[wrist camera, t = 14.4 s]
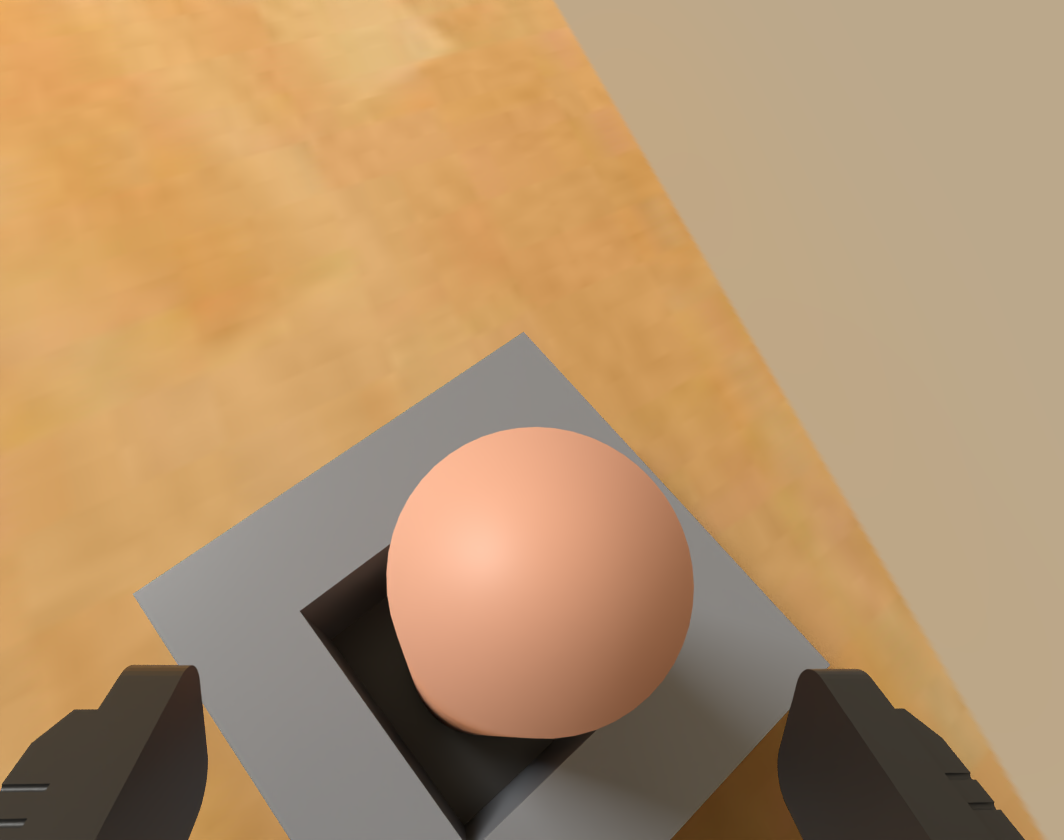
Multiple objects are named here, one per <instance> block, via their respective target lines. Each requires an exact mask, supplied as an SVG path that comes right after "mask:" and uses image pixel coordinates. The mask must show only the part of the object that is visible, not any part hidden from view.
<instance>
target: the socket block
mask: <svg viewBox="0 0 1064 840" xmlns="http://www.w3.org/2000/svg"><path fill="white" fill-rule="evenodd" d="M526 427H544V428H556V429H562V430H567V431H572V432H576V433H579V434H582V435H585V436H588V437H591V438H593V439H596V440H598V441H600V442H602V443H604V444H607V445H608V446H610V447H612V448H613V449H615V450H617V451H618V452H620V453H622V454H623V455H625V456H626V457H627V458H629V459H630V460H631V461H632V462H634V463H635V464H636V465H638V466H639V467H640V468H641V469H642V470H643V471H644V472H645V473H646V474H647V475H648V476H649V477H650V478H651V479H652V480H653V481H654V483H655V484H656V485H657V486H658V488H659V489H660V490H661V491H662V493H663V494H664V495H665V497H666V498H667V500H668V502H669V503H670V505H671V506H672V508H673V510H674V511H675V514H676V516H677V518H678V520H679V522H680V524H681V526H682V528H683V531H684V534H685V538H686V541H687V544H688V547H689V551H690V556H691V561H692V567H693V580H694V594H693V608H692V614H691V619H690V625H689V628H688V631H687V634H686V637H685V641H684V644H683V646H682V648H681V650H680V653H679V655H678V657H677V659H676V661H675V663H674V665H673V666H672V668H671V669H670V671H669V672H668V674H667V675H666V677H665V678H664V680H663V681H662V682H661V683H660V685H659V686H658V687H657V688H656V689H655V690H654V691H653V693H652V694H651V695H650V696H649V697H648V698H647V699H645V700H644V701H643V702H642V703H641V704H640V705H638V706H637V707H636V708H635V709H634V710H632V711H631V712H629V713H628V714H626V715H625V716H623V717H621V718H620V719H618V720H617V721H615V722H613V723H610V724H608V725H606V726H604V727H601V728H599V729H597V730H594V731H591V732H587V733H583V734H580V735H576V736H570V737H562V738H555V739H544V738H518V737H501V736H484V735H472V734H466V733H462V732H459V731H456V730H454V729H452V728H450V727H448V726H446V725H445V724H443V723H442V722H440V721H439V720H438V719H437V718H436V717H434V716H433V715H432V714H431V713H430V711H429V710H428V709H427V708H426V707H425V705H424V703H423V702H422V700H421V699H420V697H419V695H418V692H417V690H416V688H415V685H414V682H413V679H412V676H411V673H410V671H409V668H408V665H407V662H406V659H405V657H404V654H403V651H402V648H401V645H400V642H399V640H398V637H397V634H396V630H395V627H394V624H393V621H392V618H391V614H390V608H389V602H388V596H387V575H386V572H387V562H388V552H389V548H390V544H391V539H392V535H393V532H394V529H395V526H396V524H397V521H398V518H399V516H400V513H401V511H402V510H403V508H404V506H405V504H406V502H407V500H408V498H409V497H410V495H411V494H412V492H413V491H414V490H415V488H416V487H417V485H418V484H419V483H420V481H421V480H422V479H423V478H424V477H425V476H426V475H427V474H428V473H429V472H430V471H431V469H432V468H433V467H434V466H436V465H437V464H438V463H439V462H440V461H442V460H443V459H444V458H445V457H447V456H448V455H449V454H451V453H452V452H454V451H455V450H457V449H459V448H460V447H462V446H463V445H465V444H467V443H469V442H472V441H474V440H476V439H478V438H480V437H483V436H486V435H489V434H492V433H496V432H499V431H504V430H509V429H515V428H526ZM133 595H134V597H135V598H136V600H137V602H138V603H139V605H140V606H141V608H142V609H143V611H144V612H145V614H146V616H147V617H148V619H149V620H150V622H151V623H152V625H153V626H154V628H155V630H156V631H157V633H158V634H159V636H160V637H161V639H162V640H163V642H164V644H165V645H166V647H167V648H168V650H169V651H170V653H171V655H172V656H173V658H174V659H175V661H176V662H177V664H178V665H193V666H195V667H196V668H197V670H198V673H199V677H200V686H201V696H202V703H203V704H204V706H205V707H206V709H207V711H208V712H209V714H210V715H211V717H212V718H213V720H214V722H215V723H216V725H217V726H218V728H219V729H220V731H221V732H222V734H223V736H224V737H225V739H226V740H227V742H228V743H229V745H230V746H231V748H232V750H233V751H234V753H235V754H236V756H237V757H238V759H239V760H240V762H241V764H242V765H243V767H244V768H245V770H246V771H247V773H248V774H249V776H250V778H251V779H252V781H253V782H254V784H255V785H256V787H257V788H258V790H259V792H260V793H261V795H262V796H263V798H264V799H265V801H266V803H267V804H268V806H269V807H270V809H271V810H272V812H273V813H274V815H275V817H276V818H277V820H278V821H279V823H280V824H281V826H282V827H283V829H284V831H285V832H286V834H287V835H288V837H289V838H290V840H671V838H672V837H673V836H674V835H675V834H676V833H677V832H678V831H679V830H680V829H681V827H682V826H683V825H684V824H685V823H686V822H687V821H688V820H689V819H690V818H691V817H692V815H693V814H694V813H695V812H696V811H697V810H698V809H699V808H700V807H701V806H702V804H703V803H704V802H705V801H706V800H707V799H708V798H709V797H710V796H711V795H712V794H713V792H714V791H715V790H716V789H717V788H718V787H719V786H720V785H721V784H722V783H723V781H724V780H725V779H726V778H727V777H728V776H729V775H730V774H731V773H732V772H733V771H734V769H735V768H736V767H737V766H738V765H739V764H740V763H741V762H742V761H743V760H744V759H745V757H746V756H747V755H748V754H749V753H750V752H751V751H752V750H753V749H754V748H755V746H756V745H757V744H758V743H759V742H760V741H761V740H762V739H763V738H764V737H765V736H766V734H767V733H768V732H769V731H770V730H771V729H772V728H773V727H774V726H775V725H776V723H777V722H778V721H779V720H780V719H781V718H782V717H783V716H784V715H785V714H786V713H787V711H788V710H789V709H790V707H791V703H792V699H793V695H794V691H795V687H796V684H797V680H798V678H799V676H800V674H801V673H802V672H803V671H804V670H806V669H827V668H828V667H829V665H830V664H829V663H828V662H827V661H826V660H825V659H824V658H823V657H822V656H821V655H820V653H819V652H818V651H817V650H816V649H815V648H814V647H813V646H812V645H811V644H810V643H809V641H808V640H807V639H806V638H805V637H804V636H803V635H802V634H801V633H800V632H799V631H798V630H797V628H796V627H795V626H794V625H793V624H792V623H791V622H790V621H789V620H788V619H787V618H786V617H785V615H784V614H783V613H782V612H781V611H780V610H779V609H778V608H777V607H776V606H775V605H774V603H773V602H772V601H771V600H770V599H769V598H768V597H767V596H766V595H765V594H764V593H763V592H762V590H761V589H760V588H759V587H758V586H757V585H756V584H755V583H754V582H753V581H752V580H751V579H750V577H749V576H748V575H747V574H746V573H745V572H744V571H743V570H742V569H741V568H740V567H739V565H738V564H737V563H736V562H735V561H734V560H733V559H732V558H731V557H730V556H729V555H728V554H727V552H726V551H725V550H724V549H723V548H722V547H721V546H720V545H719V544H718V543H717V542H716V541H715V539H714V538H713V537H712V536H711V535H710V534H709V533H708V532H707V531H706V530H705V529H704V527H703V526H702V525H701V524H700V523H699V522H698V521H697V520H696V519H695V518H694V517H693V516H692V514H691V513H690V512H689V511H688V510H687V509H686V508H685V507H684V506H683V505H682V504H681V503H680V501H679V500H678V499H677V498H676V497H675V496H674V495H673V494H672V493H671V492H670V491H669V489H668V488H667V487H666V486H665V485H664V484H663V483H662V482H661V481H660V480H659V479H658V478H657V476H656V475H655V474H654V473H653V472H652V471H651V470H650V469H649V468H648V467H647V466H646V464H645V463H644V462H643V461H642V460H641V459H640V458H639V457H638V456H637V455H636V454H635V453H634V451H633V450H632V449H631V448H630V447H629V446H628V445H627V444H626V443H625V442H624V441H623V440H622V438H621V437H620V436H619V435H618V434H617V433H616V432H615V431H614V430H613V429H612V428H611V426H610V425H609V424H608V423H607V422H606V421H605V420H604V419H603V418H602V417H601V416H600V415H599V413H598V412H597V411H596V410H595V409H594V408H593V407H592V406H591V405H590V404H589V403H588V402H587V400H586V399H585V398H584V397H583V396H582V395H581V394H580V393H579V392H578V391H577V390H576V388H575V387H574V386H573V385H572V384H571V383H570V382H569V381H568V380H567V379H566V378H565V377H564V375H563V374H562V373H561V372H560V371H559V370H558V369H557V368H556V367H555V366H554V365H553V364H552V362H551V361H550V360H549V359H548V358H547V357H546V356H545V355H544V354H543V353H542V352H541V350H540V349H539V348H538V347H537V346H536V345H535V344H534V343H533V342H532V341H531V340H530V339H529V337H528V336H527V335H526V334H525V333H524V332H523V333H521V334H520V335H518V336H517V337H515V338H514V339H512V340H511V341H509V342H508V343H506V344H505V345H503V346H502V347H500V348H499V349H497V350H496V351H494V352H493V353H491V354H490V355H488V356H487V357H485V358H484V359H482V360H481V361H479V362H478V363H476V364H475V365H473V366H472V367H471V368H469V369H468V370H466V371H465V372H463V373H462V374H460V375H459V376H457V377H456V378H454V379H453V380H451V381H450V382H448V383H447V384H445V385H444V386H442V387H441V388H439V389H438V390H436V391H435V392H433V393H432V394H430V395H429V396H427V397H426V398H424V399H423V400H421V401H420V402H418V403H417V404H415V405H414V406H412V407H411V408H409V409H408V410H406V411H405V412H403V413H402V414H400V415H399V416H397V417H396V418H395V419H393V420H392V421H390V422H389V423H387V424H386V425H384V426H383V427H381V428H380V429H378V430H377V431H375V432H374V433H372V434H371V435H369V436H368V437H366V438H365V439H363V440H362V441H360V442H359V443H357V444H356V445H354V446H353V447H351V448H350V449H348V450H347V451H345V452H344V453H342V454H341V455H339V456H338V457H336V458H335V459H333V460H332V461H330V462H329V463H327V464H326V465H324V466H323V467H321V468H320V469H319V470H317V471H316V472H314V473H313V474H311V475H310V476H308V477H307V478H305V479H304V480H302V481H301V482H299V483H298V484H296V485H295V486H293V487H292V488H290V489H289V490H287V491H286V492H284V493H283V494H281V495H280V496H278V497H277V498H275V499H274V500H272V501H271V502H269V503H268V504H266V505H265V506H263V507H262V508H260V509H259V510H257V511H256V512H254V513H253V514H251V515H250V516H248V517H247V518H245V519H244V520H242V521H241V522H240V523H238V524H237V525H235V526H234V527H232V528H231V529H229V530H228V531H226V532H225V533H223V534H222V535H220V536H219V537H217V538H216V539H214V540H213V541H211V542H210V543H208V544H207V545H205V546H204V547H202V548H201V549H199V550H198V551H196V552H195V553H193V554H192V555H190V556H189V557H187V558H186V559H184V560H183V561H181V562H180V563H178V564H177V565H175V566H174V567H172V568H171V569H169V570H168V571H166V572H165V573H164V574H162V575H161V576H159V577H158V578H156V579H155V580H153V581H152V582H150V583H149V584H147V585H146V586H144V587H143V588H141V589H140V590H138V591H137V592H135V593H134V594H133Z"/></svg>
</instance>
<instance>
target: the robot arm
mask: <svg viewBox="0 0 1064 840" xmlns="http://www.w3.org/2000/svg"><path fill="white" fill-rule="evenodd" d="M207 770H208V755H207V745H206V735H205V725H204V715H203V705H202V696H201V686H200V677H199V673H198V670H197V668H196V667H195V666H193V665H131V666H129V667H127V668H126V669H125V670H124V671H123V672H122V673H121V675H120V676H119V678H118V679H117V681H116V682H115V684H114V685H113V687H112V689H111V690H110V692H109V693H108V695H107V696H106V698H105V699H104V701H103V702H102V704H101V706H100V707H99V709H98V710H73V711H72V712H71V713H69V714H68V715H67V716H66V717H64V718H63V719H62V720H60V721H59V722H58V723H57V724H55V725H54V726H53V727H52V728H50V729H49V730H48V731H47V732H45V733H44V734H43V735H41V736H40V737H39V738H38V739H36V740H35V741H34V742H33V743H31V745H30V746H29V747H28V749H27V750H26V752H25V753H24V754H23V756H22V757H21V758H20V760H19V761H18V763H17V764H16V765H15V767H14V768H13V770H12V771H11V772H10V774H9V775H8V776H7V778H6V779H5V781H4V782H3V783H2V788H1V791H0V840H188V839H189V836H190V834H191V831H192V829H193V826H194V823H195V821H196V818H197V816H198V813H199V810H200V807H201V804H202V800H203V796H204V791H205V786H206V780H207ZM778 777H779V784H780V788H781V792H782V795H783V798H784V801H785V803H786V806H787V808H788V810H789V812H790V814H791V816H792V818H793V820H794V822H795V824H796V826H797V828H798V830H799V832H800V834H801V836H802V838H803V840H1025V839H1024V838H1023V837H1022V836H1021V834H1020V833H1019V832H1018V831H1017V829H1016V828H1015V827H1014V826H1013V825H1012V823H1011V822H1010V821H1009V820H1008V818H1007V817H1006V816H1005V815H1004V813H1003V812H1002V811H1001V810H996V809H995V807H994V801H993V800H992V799H991V797H990V796H989V795H988V794H987V793H986V791H985V790H984V789H983V788H982V786H981V785H980V784H979V783H978V782H977V780H972V779H971V777H970V772H969V770H968V769H967V768H966V767H965V766H964V764H963V763H962V762H961V761H960V759H959V758H958V757H957V756H956V754H955V753H954V752H953V751H952V750H951V748H950V747H949V746H948V745H947V743H946V742H945V741H944V740H943V738H942V737H940V736H939V735H938V734H936V733H935V732H934V731H932V730H931V729H930V728H929V727H927V726H926V725H925V724H923V723H922V722H921V721H919V720H918V719H917V718H915V717H914V716H913V715H912V714H910V713H909V712H908V711H906V710H905V709H895V708H894V707H893V706H892V704H891V703H890V702H889V701H888V699H887V698H886V697H885V695H884V694H883V693H882V692H881V690H880V689H879V688H878V686H877V685H876V684H875V682H874V681H873V680H872V679H871V677H870V676H869V675H868V674H867V673H865V672H864V671H862V670H859V669H806V670H804V671H803V672H802V673H801V674H800V676H799V678H798V680H797V684H796V687H795V691H794V695H793V699H792V703H791V707H790V711H789V714H788V718H787V722H786V726H785V730H784V734H783V737H782V741H781V745H780V749H779V754H778Z"/></svg>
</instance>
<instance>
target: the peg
mask: <svg viewBox="0 0 1064 840" xmlns="http://www.w3.org/2000/svg"><path fill="white" fill-rule="evenodd" d="M386 575H387V596H388V602H389V608H390V614H391V618H392V621H393V624H394V627H395V630H396V634H397V637H398V640H399V642H400V645H401V648H402V651H403V654H404V657H405V659H406V662H407V665H408V668H409V671H410V673H411V676H412V679H413V682H414V685H415V688H416V690H417V692H418V695H419V697H420V699H421V700H422V702H423V703H424V705H425V707H426V708H427V709H428V710H429V711H430V713H431V714H432V715H433V716H434V717H436V718H437V719H438V720H439V721H440V722H442V723H443V724H445V725H446V726H448V727H450V728H452V729H454V730H456V731H459V732H462V733H466V734H472V735H484V736H501V737H518V738H544V739H555V738H562V737H570V736H576V735H580V734H583V733H587V732H591V731H594V730H597V729H599V728H601V727H604V726H606V725H608V724H610V723H613V722H615V721H617V720H618V719H620V718H621V717H623V716H625V715H626V714H628V713H629V712H631V711H632V710H634V709H635V708H636V707H637V706H638V705H640V704H641V703H642V702H643V701H644V700H645V699H647V698H648V697H649V696H650V695H651V694H652V693H653V691H654V690H655V689H656V688H657V687H658V686H659V685H660V683H661V682H662V681H663V680H664V678H665V677H666V675H667V674H668V672H669V671H670V669H671V668H672V666H673V665H674V663H675V661H676V659H677V657H678V655H679V653H680V650H681V648H682V646H683V644H684V641H685V637H686V634H687V631H688V628H689V625H690V619H691V614H692V608H693V594H694V580H693V567H692V561H691V556H690V551H689V547H688V544H687V541H686V538H685V534H684V531H683V528H682V526H681V524H680V522H679V520H678V518H677V516H676V514H675V511H674V510H673V508H672V506H671V505H670V503H669V502H668V500H667V498H666V497H665V495H664V494H663V493H662V491H661V490H660V489H659V488H658V486H657V485H656V484H655V483H654V481H653V480H652V479H651V478H650V477H649V476H648V475H647V474H646V473H645V472H644V471H643V470H642V469H641V468H640V467H639V466H638V465H636V464H635V463H634V462H632V461H631V460H630V459H629V458H627V457H626V456H625V455H623V454H622V453H620V452H618V451H617V450H615V449H613V448H612V447H610V446H608V445H607V444H604V443H602V442H600V441H598V440H596V439H593V438H591V437H588V436H585V435H582V434H579V433H576V432H572V431H567V430H562V429H556V428H544V427H526V428H515V429H509V430H504V431H499V432H496V433H492V434H489V435H486V436H483V437H480V438H478V439H476V440H474V441H472V442H469V443H467V444H465V445H463V446H462V447H460V448H459V449H457V450H455V451H454V452H452V453H451V454H449V455H448V456H447V457H445V458H444V459H443V460H442V461H440V462H439V463H438V464H437V465H436V466H434V467H433V468H432V469H431V471H430V472H429V473H428V474H427V475H426V476H425V477H424V478H423V479H422V480H421V481H420V483H419V484H418V485H417V487H416V488H415V490H414V491H413V492H412V494H411V495H410V497H409V498H408V500H407V502H406V504H405V506H404V508H403V510H402V511H401V513H400V516H399V518H398V521H397V524H396V526H395V529H394V532H393V535H392V539H391V544H390V548H389V552H388V562H387V572H386Z"/></svg>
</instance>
